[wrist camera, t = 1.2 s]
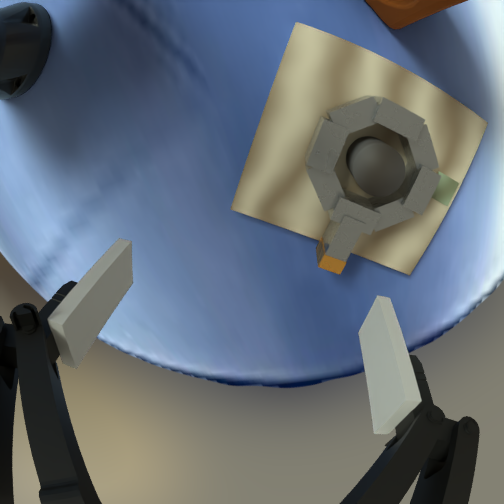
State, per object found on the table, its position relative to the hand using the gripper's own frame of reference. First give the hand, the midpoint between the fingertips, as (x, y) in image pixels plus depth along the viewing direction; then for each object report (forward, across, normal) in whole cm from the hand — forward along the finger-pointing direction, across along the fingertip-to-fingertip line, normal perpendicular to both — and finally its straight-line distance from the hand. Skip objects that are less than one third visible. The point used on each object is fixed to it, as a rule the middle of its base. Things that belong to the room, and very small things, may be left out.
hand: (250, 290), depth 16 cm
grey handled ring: (+19, +9, +2) cm, 22 cm away
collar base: (+21, +9, +5) cm, 24 cm away
